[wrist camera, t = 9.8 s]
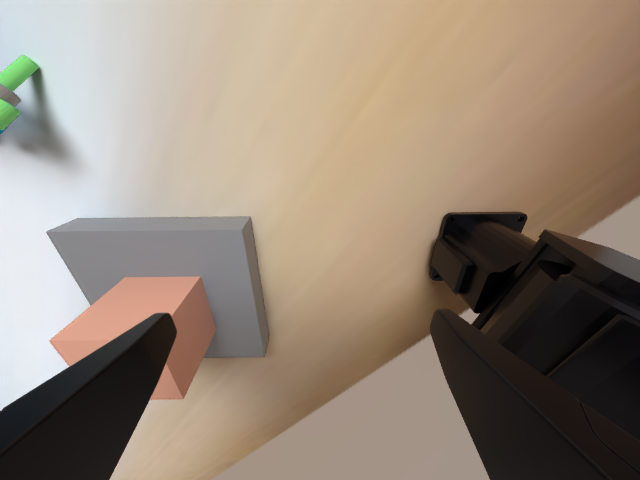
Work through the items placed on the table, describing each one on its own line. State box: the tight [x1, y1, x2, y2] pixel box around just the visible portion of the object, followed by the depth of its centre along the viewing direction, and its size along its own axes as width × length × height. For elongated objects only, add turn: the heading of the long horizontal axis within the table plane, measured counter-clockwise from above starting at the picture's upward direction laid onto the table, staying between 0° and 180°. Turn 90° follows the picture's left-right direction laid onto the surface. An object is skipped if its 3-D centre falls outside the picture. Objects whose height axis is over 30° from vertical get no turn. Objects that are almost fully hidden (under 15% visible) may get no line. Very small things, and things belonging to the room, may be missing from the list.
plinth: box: [46, 217, 269, 358], centre depth 21 cm, size 14×14×2 cm
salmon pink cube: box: [49, 276, 216, 400], centre depth 17 cm, size 6×6×6 cm
